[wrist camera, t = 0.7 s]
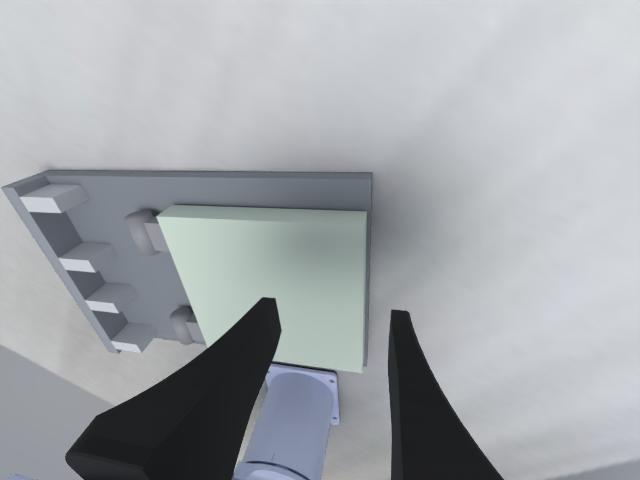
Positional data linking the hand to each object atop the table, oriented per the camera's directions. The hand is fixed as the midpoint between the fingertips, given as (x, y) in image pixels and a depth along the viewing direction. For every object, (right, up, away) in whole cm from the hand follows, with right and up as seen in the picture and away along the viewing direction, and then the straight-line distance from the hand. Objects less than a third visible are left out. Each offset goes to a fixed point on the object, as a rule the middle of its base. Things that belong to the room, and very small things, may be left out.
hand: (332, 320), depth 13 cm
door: (-6, 0, +12) cm, 13 cm away
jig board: (-9, +1, +14) cm, 17 cm away
